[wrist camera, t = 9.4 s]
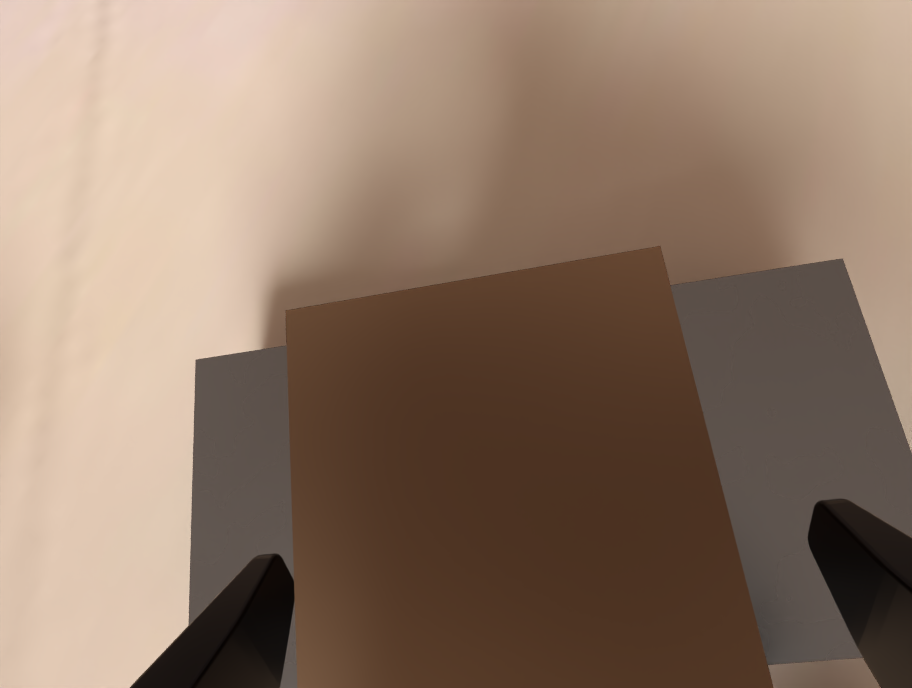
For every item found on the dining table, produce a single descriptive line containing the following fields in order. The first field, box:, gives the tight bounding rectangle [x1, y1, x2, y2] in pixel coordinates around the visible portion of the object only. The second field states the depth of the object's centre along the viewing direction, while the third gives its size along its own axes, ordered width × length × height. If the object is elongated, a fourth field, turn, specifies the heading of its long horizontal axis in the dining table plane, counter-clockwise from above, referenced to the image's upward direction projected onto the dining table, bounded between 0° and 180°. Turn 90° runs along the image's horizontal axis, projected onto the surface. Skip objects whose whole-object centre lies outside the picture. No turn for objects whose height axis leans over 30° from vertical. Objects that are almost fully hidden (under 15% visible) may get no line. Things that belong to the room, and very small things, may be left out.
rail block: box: [189, 259, 912, 688], centre depth 16 cm, size 10×20×4 cm, turn 97°
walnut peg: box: [286, 246, 773, 688], centre depth 12 cm, size 4×4×14 cm
